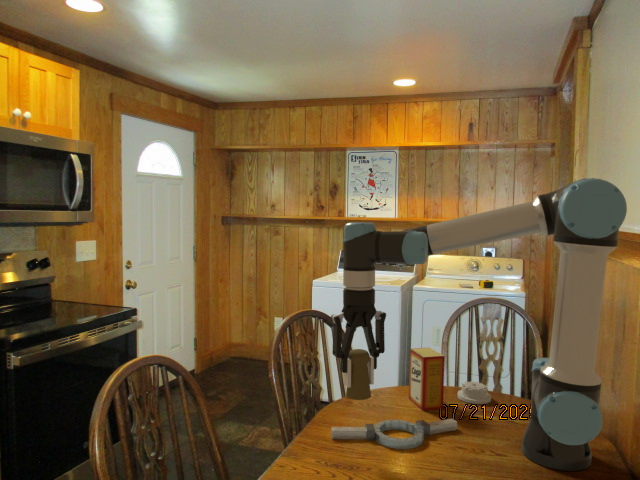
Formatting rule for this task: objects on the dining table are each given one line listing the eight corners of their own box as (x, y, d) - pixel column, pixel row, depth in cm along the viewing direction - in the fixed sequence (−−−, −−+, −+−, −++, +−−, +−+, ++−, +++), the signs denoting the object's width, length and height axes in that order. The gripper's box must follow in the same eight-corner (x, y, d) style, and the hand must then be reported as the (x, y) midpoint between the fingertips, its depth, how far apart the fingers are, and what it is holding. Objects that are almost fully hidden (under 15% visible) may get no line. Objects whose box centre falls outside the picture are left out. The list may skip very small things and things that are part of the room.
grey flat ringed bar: (454, 426, 137) (455, 416, 137) (469, 449, 124) (470, 438, 124) (330, 425, 137) (330, 415, 137) (332, 448, 124) (332, 437, 124)
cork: (343, 398, 121) (343, 352, 120) (348, 389, 126) (348, 346, 126) (368, 401, 119) (369, 354, 118) (373, 392, 125) (373, 347, 124)
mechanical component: (458, 403, 155) (492, 406, 152) (458, 389, 154) (493, 392, 152) (456, 391, 164) (489, 394, 162) (457, 378, 164) (489, 381, 162)
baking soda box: (408, 398, 157) (410, 347, 156) (428, 397, 159) (429, 346, 158) (422, 410, 148) (424, 356, 147) (443, 408, 150) (444, 354, 149)
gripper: (386, 283, 128) (385, 375, 129) (317, 287, 122) (317, 383, 123) (400, 287, 121) (400, 384, 122) (329, 292, 115) (328, 394, 116)
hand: (358, 383), depth 123 cm, fingers closed on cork, 5 cm apart
